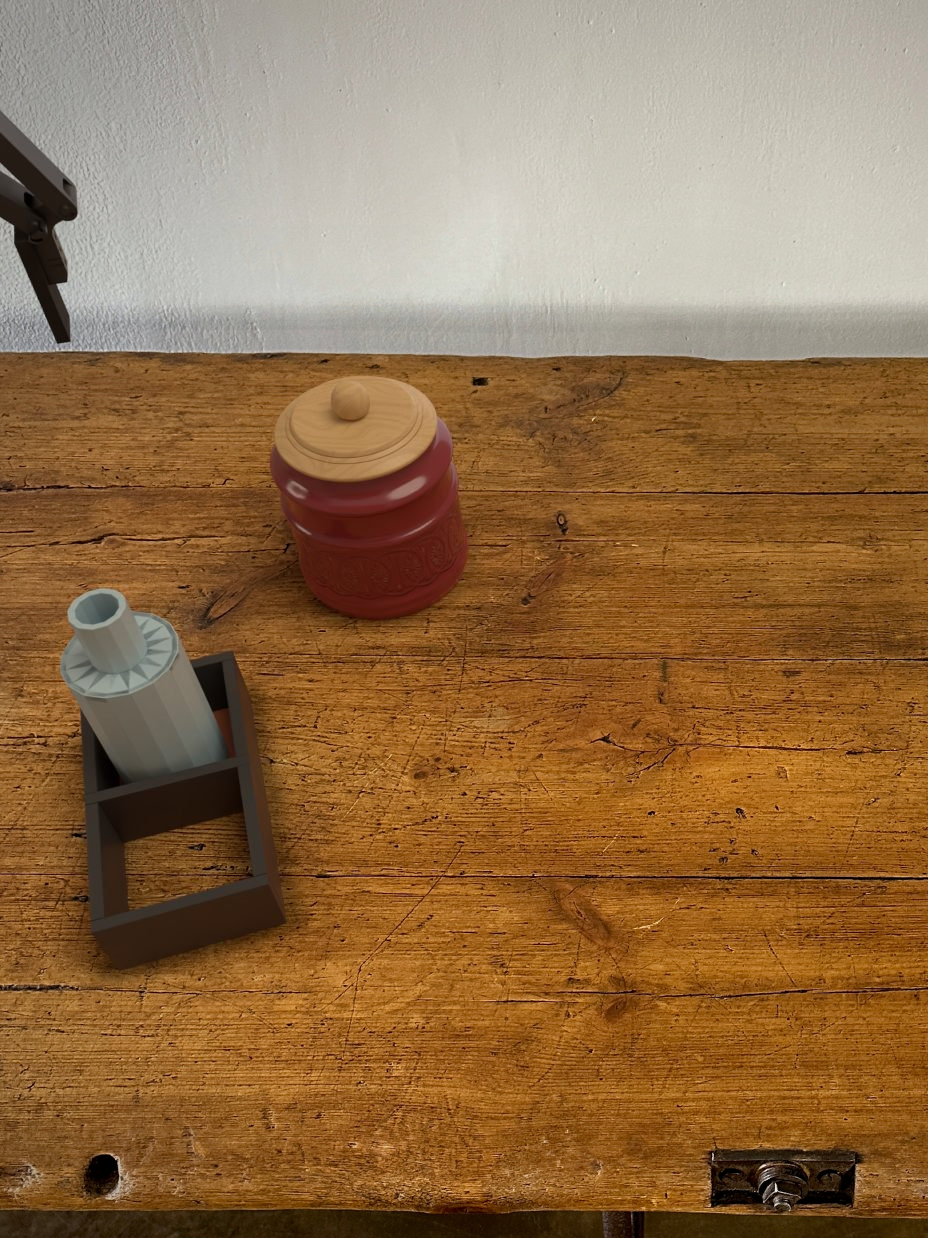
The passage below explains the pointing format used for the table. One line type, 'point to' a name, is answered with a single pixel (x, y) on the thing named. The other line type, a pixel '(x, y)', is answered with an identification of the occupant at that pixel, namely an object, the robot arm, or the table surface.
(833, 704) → the table surface
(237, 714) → the frame
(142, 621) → the water bottle
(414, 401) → the kitchen canister
